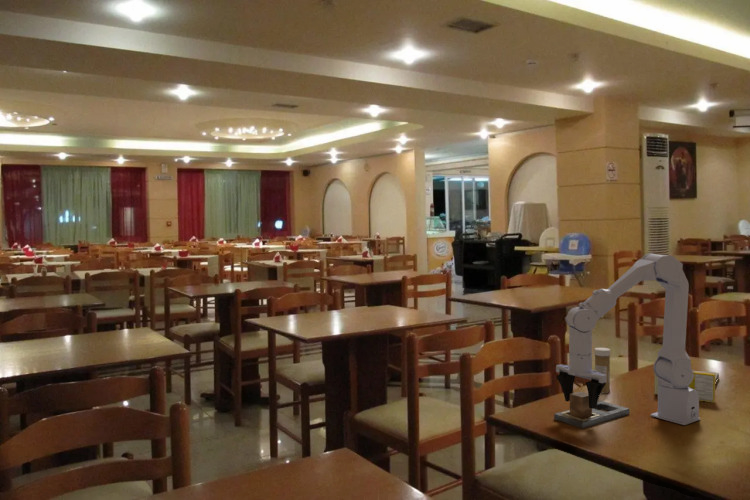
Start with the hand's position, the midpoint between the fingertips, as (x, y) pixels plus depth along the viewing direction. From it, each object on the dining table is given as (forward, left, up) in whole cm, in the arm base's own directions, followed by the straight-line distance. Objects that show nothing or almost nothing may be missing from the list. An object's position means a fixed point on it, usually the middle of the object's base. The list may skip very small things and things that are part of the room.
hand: (580, 404), depth 161 cm
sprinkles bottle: (+13, -27, -5) cm, 31 cm away
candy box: (-5, -41, -5) cm, 42 cm away
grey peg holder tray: (0, -5, -4) cm, 7 cm away
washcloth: (+2, -61, -5) cm, 61 cm away
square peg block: (0, 0, -4) cm, 4 cm away
